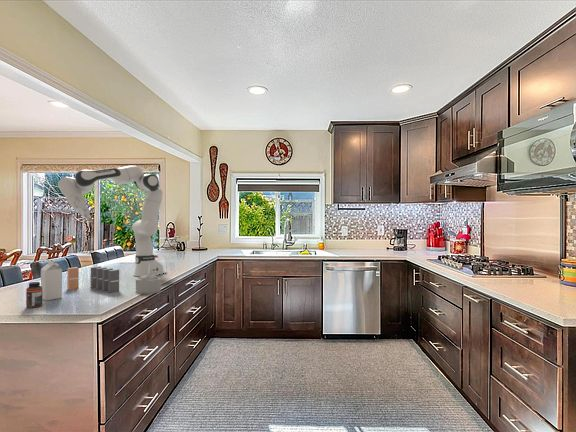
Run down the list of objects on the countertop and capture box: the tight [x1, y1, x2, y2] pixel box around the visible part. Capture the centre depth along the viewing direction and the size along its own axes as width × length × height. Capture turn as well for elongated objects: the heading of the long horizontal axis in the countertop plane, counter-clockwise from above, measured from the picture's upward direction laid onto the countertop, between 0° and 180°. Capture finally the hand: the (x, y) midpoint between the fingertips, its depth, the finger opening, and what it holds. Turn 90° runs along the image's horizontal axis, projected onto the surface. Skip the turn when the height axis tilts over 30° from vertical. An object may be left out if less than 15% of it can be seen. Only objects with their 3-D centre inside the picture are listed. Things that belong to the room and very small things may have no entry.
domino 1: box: [90, 265, 102, 289], centre depth 195 cm, size 2×5×12 cm, turn 146°
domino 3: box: [101, 267, 114, 292], centre depth 187 cm, size 2×5×12 cm, turn 146°
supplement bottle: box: [25, 281, 43, 309], centre depth 153 cm, size 6×6×11 cm
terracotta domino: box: [66, 266, 80, 291], centre depth 190 cm, size 2×5×12 cm, turn 146°
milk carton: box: [40, 260, 63, 302], centre depth 168 cm, size 7×7×19 cm
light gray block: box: [135, 275, 162, 295], centre depth 186 cm, size 10×13×9 cm
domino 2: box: [95, 267, 108, 291], centre depth 191 cm, size 2×5×12 cm, turn 146°
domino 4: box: [107, 269, 120, 294], centre depth 184 cm, size 2×5×12 cm, turn 146°
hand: (90, 219), depth 202 cm, fingers open, 8 cm apart
